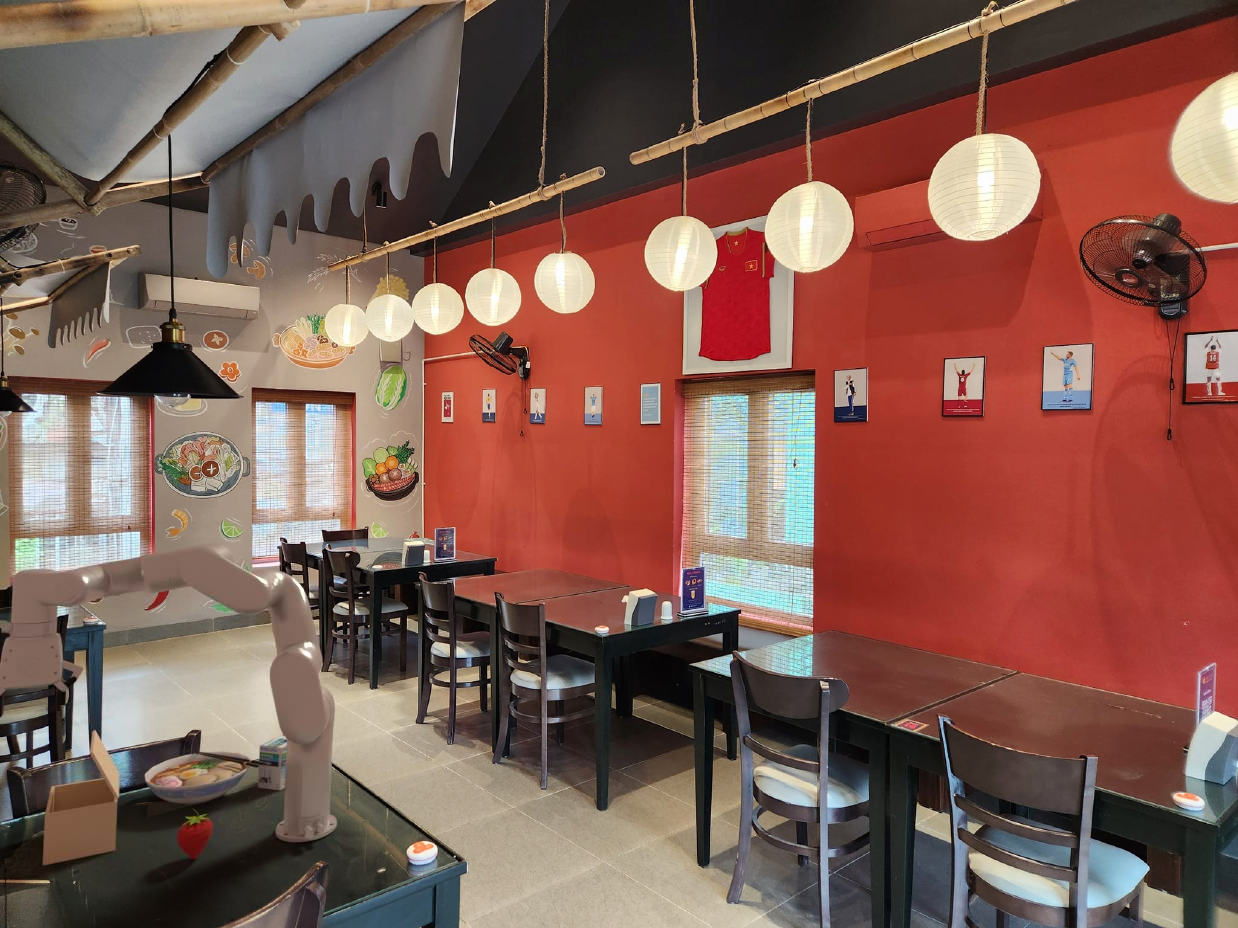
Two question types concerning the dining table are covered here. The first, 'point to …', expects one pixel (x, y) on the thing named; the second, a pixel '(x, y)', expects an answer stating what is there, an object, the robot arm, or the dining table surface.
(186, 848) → the strawberry
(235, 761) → the ramen bowl
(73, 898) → the dining table surface
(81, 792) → the cardboard carton
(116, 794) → the carton flap
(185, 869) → the dining table surface
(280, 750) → the light bulb box
